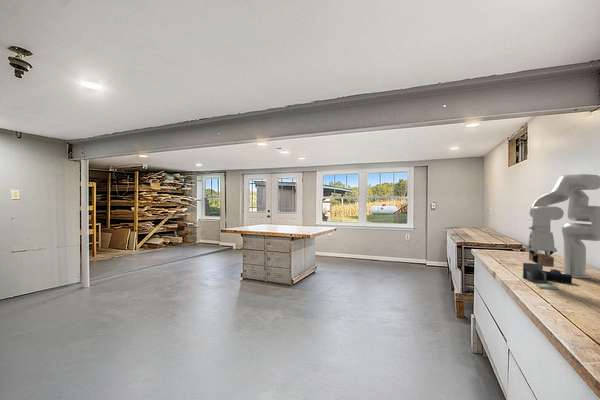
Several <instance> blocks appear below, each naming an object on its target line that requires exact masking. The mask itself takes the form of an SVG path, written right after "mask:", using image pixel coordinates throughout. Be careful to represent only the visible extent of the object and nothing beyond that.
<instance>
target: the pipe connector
mask: <svg viewBox="0 0 600 400" xmlns="http://www.w3.org/2000/svg"><path fill="white" fill-rule="evenodd" d="M543 272H544V273H546V281H552V282H558V283H562V284H569V285H571V284H572V282H573V277H572V275H569V274H562V273H561V270H558V269H555V268H554V269H550V271H548V270H543Z"/></svg>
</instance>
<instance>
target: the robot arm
mask: <svg viewBox="0 0 600 400" xmlns="http://www.w3.org/2000/svg"><path fill="white" fill-rule="evenodd" d="M599 189H600V175H597V174H586V173H581V174H580V173H578V174H566V175H562V176H560V177H559V178H557V181H556V182H555V184H554V185H553V187H552V189H551V190H550V191H549V192H548V193H545V194H543V195H542V196H540V197H538V198H537V199H536V200H535V201H534V202H533V204H532V206H530V209H529V216H530V218H532V225H531V226H529V230H531V231H530V234H529V237H528V244H527V245H526V246H525V248H524V249H525V250H526V251H527V252H528V253H529V252H530V253H531V254H532V255H533V261H532V263H536V264H537V263H538V256H537V252H539V251H540V252H541V251H543V252H544V254H546V255H548V256H552V254H554V253H556V252H558V250H557V248H556V247H555V239H554V232H551V223H552V222H551V221H558V220H561V219H562V218H563V217H564V215H565V214H564V213H565V212H564V210H563V209H562V208H561V207H560V206H552V205H554V204H560V203H564V202H566V201H567V200H568V205H567V206H568V207H567V218H568V220H569V221H573V222H569V223H565V224H562V227H561V234H562V237H563V266H562V269H563V270H560V272H561V273H562V274H569V275H572V278H575V279H576V278H577V279H590V275H589V274H587V273H586V272H587V247H586V245H585V243H584V242H583V241H591V242H600V205H589V201H590V198H589V196H588V195H587V193H586V192H585V191H590V190H591V191H593V190H599ZM578 222H582V223H578ZM583 222H584V223H583ZM585 222H586V223H585ZM590 223H591V224H590Z"/></svg>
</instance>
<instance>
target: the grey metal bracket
mask: <svg viewBox="0 0 600 400" xmlns="http://www.w3.org/2000/svg"><path fill="white" fill-rule="evenodd" d="M543 267H544V266H542V265H540V264H537V263H535V262H530V263H529V262H522V279H525V280H527V281H528V282H530V283H544V284H547V280H546V273H544V272H543V271H544V269H543Z"/></svg>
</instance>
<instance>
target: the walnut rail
mask: <svg viewBox="0 0 600 400" xmlns="http://www.w3.org/2000/svg"><path fill="white" fill-rule="evenodd" d="M537 256H538V263H536V264H540V265H542V266H543V267H547V268H548V267H549V268H550V267H551V268H555V267H554V266H555V263H554V261H555V257H554V256H552V255H550V256H548V255H546V254H545V253H542V252H541V251H540V252H539V251H537ZM528 260H529V261H531V262H533V255H532V254H531V253H530V252H529V251H528Z"/></svg>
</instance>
